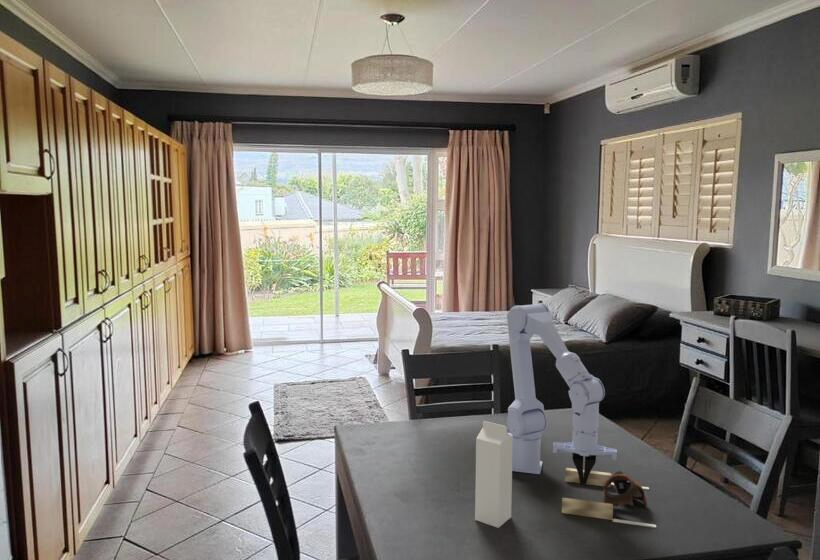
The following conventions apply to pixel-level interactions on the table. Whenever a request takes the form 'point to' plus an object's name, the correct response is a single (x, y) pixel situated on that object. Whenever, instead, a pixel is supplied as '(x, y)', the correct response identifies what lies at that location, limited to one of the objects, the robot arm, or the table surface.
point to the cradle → (582, 505)
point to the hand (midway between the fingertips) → (583, 483)
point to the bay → (632, 521)
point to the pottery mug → (623, 490)
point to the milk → (493, 474)
